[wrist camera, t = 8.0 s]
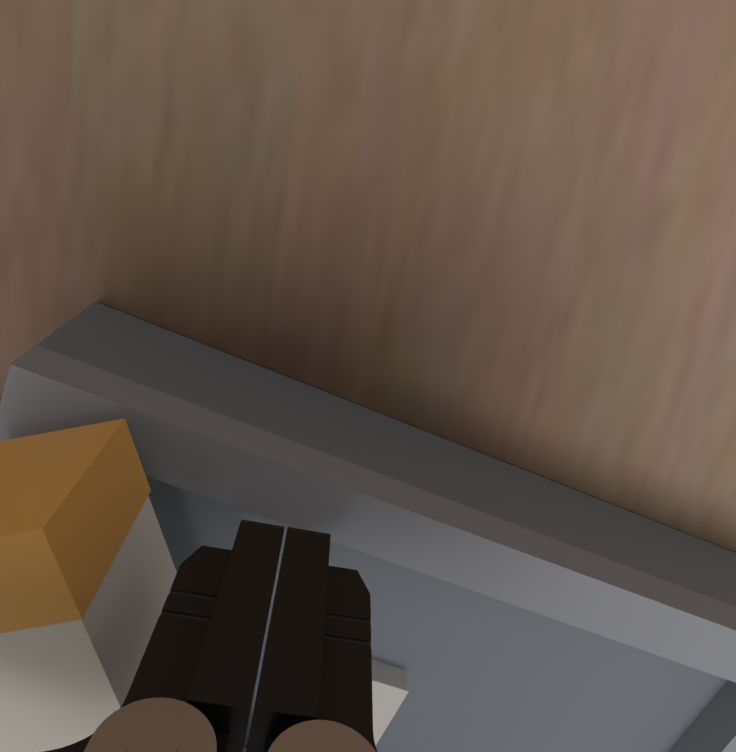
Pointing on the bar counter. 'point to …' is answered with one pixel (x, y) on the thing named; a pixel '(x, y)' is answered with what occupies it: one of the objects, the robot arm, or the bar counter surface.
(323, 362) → the bar counter surface
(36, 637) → the white lever with disc
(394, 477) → the grey tray
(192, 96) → the bar counter surface
